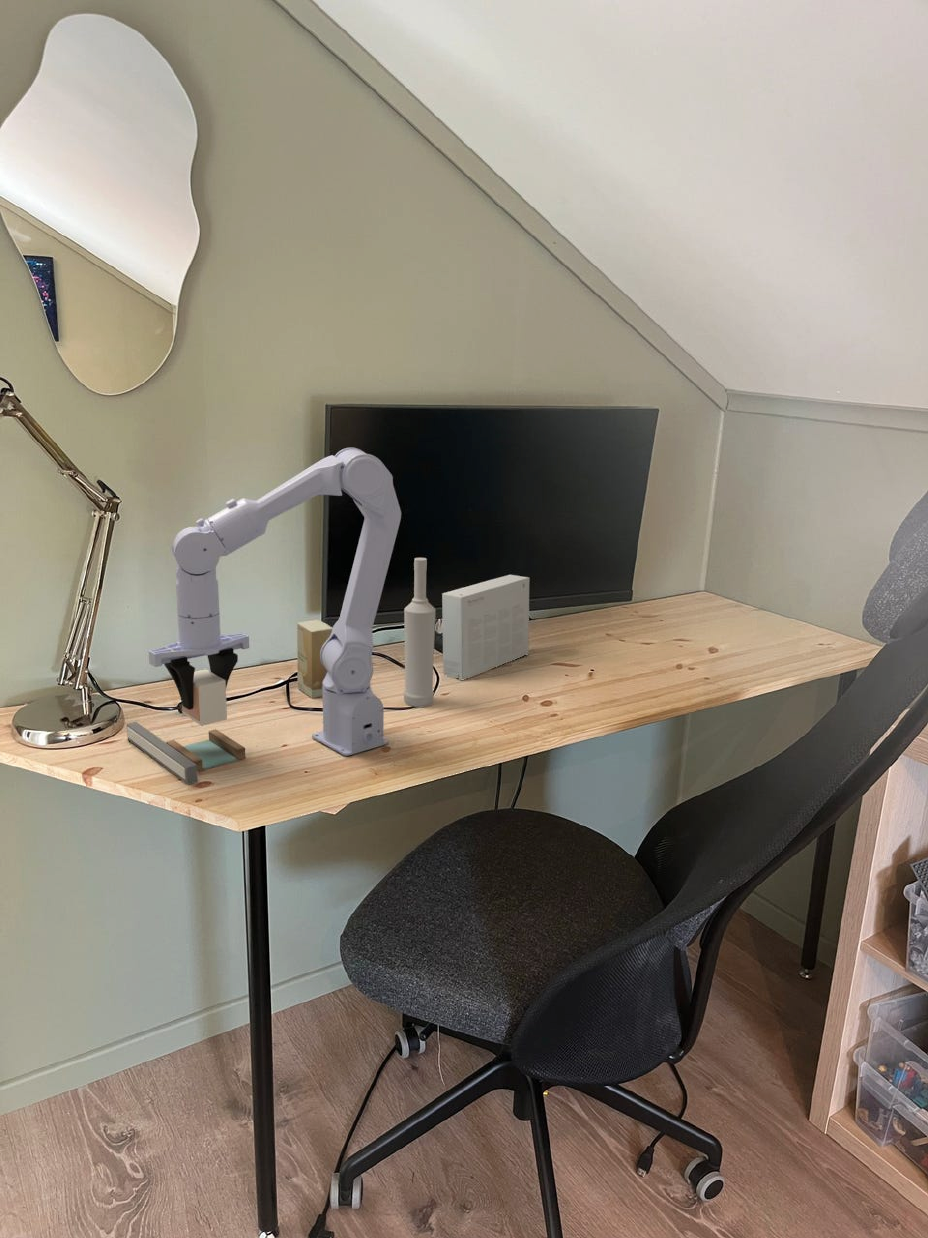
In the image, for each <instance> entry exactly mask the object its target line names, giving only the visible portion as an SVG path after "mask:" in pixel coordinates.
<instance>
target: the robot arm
mask: <svg viewBox="0 0 928 1238" xmlns="http://www.w3.org/2000/svg"><path fill="white" fill-rule="evenodd" d="M393 479H394V477H393V475H392V473H391V472H390V471H389V469H388V468H387V467H386V466H385V464H384V463H383V462H382V461H381V460H380V459H379V458H378V457H376V456H375V455H372V454H370V453H366V452H365V451H363V450H361V449H360V448H356V447H346V448H343V449H341V450H339V451H338V452H337V453H336V454H335V455H333V454H331V455H329V456H326V457H323V458H322V459H320V460H319V461H317V462H314V464H312V465H311V466H309V467H308V468H306V469H304V470H303V471H301V472H299V473H298V474H296V475H294V476H292V478H290V479H288V480H286V481H285V482H283V483H282V484H280V485H278V486H277V487H276V488H274V489H272V490H271V491H269V492H268V493H267V494H265V495H263V496H262V497H260V498H258V499H257V500H253V499H249V498H244V497H242V498H241V499H238V501H236V500H235V499H234V498H231V499H229V500H228V501H226V502H225V504H226V506H227V507H225V508H223V509H222V510H220V511H218V512H217V513H214V514H213V515H211V516H210V517H207V518H206V519H203V517H201V518H199V519H198V520H196V524H197V526H189V527H185V528H183V529H181V530H180V531H179V532H178V533H177V534H176V536H175V538H174V539H173V543H172V545H171V551H172V554H173V556H174V558H175V560H176V562H177V563H176V569H175V576H176V579H177V580H176V582H175V591H176V609H177V610H176V611H177V623H178V641H176V642H174V643H170V644H168V645H164V646H161V647H158V648H154V649H149V650H148V660H149V661H148V663H149V664H150V665H151V666H153V667H154V668H157V667H162V666H163V665H164V667H165V668H166V669H167V671H168V673H169V674H170V676H171V678H172V680H173V682H174V684H175V686H176V689H177V691H178V693H179V697H180V700H181V706H182V705H183V707H185V708H187V709H188V710H190V709H193V704H194V698H193V678H194V672H195V671H196V667H195V666H193V665H191V662H190V661H188V660H189V659H195V658H200V657H204V656H207V660H208V664H209V671H210V672H212V673H213V674H215V675H217V676H219V677H221V678H222V679H224V680H225V681H226V688H227V687H228V683H229V680H230V678H231V675H232V672H233V670H234V668H235V667H236V665H237V664H238V661H239V655H238V654H237V653H235V652H234V651H235V650H239V649H241V650H247V649H250V636H249V635H248V634H245V633H243V632H240V633H231V634H223V635H222V634H221V620H220V618H221V616H220V597H219V596H220V595H219V581H218V579H217V569H216V567H217V565H218V563H219V562H220V558H221V557H227V556H228V555H230V554H232V553H234V552H235V551H237V550H239V549H241V548H242V547H244V546H246V545H248V544H249V543H251V542H252V541H255V540H257V539H258V538H259V537H261V536H263V535H264V534H265V533H266V530H267V527H268V524H269V521H271V520H272V519H274V518H277V517H279V516H281V515H282V514H283V513H286V512H288V511H290V510H291V509H293V508H295V507H298V506H300V505H301V504H303V503H304V502H307V501H309V500H311V499H313V498H315V497H316V496H318V495H320V496H321V495H322V496H336V497H338V496H339V497H341V496H343V492H344V493H346V494H347V495H348V496H349V497H350V498H352V500H353V502H354V504H355V505H356V507H357V508H358V509H359V511H360V512H361V514H362V516H363V517H364V520H363V524H362V528H361V532H360V536H359V538H358V544H357V547H356V552H355V555H354V560H353V564H352V568H351V572H350V575H349V579H348V584H347V587H346V591H345V594H344V599H343V603H342V606H341V607H342V608H341V611H340V616H339V618H338V620H337V621H336V622H335V623H334V625H333V626H332V628H333V629H332V632H331V635H330V637H329V638H328V640H327V641H326V642H325V643H324V644H323V646H322V648H321V652H320V660H321V663H322V665H323V666H324V667H325V669H326V670H327V674H326V676H325V678H324V680H323V682H322V685H323V696H322V731H319V732H316V733H312V734H311V738H313V739H314V740H316V741H318V742H319V743H322V744H323V745H325V746H327V747H329V748H330V749H332V750H334V751H335V752H338V753H339V754H340V755H343V756H345V757H347V756H348V757H349V756H351V755H355V754H358V753H361V752H364V751H368V750H371V749H374V748H379V747H381V746H385V745H388V743H389V740H388V739H387V738H384V733H385V732H384V727H385V726H384V723H385V722H384V719H385V717H384V713H385V712H384V704H383V703H382V701H381V699H380V698H379V697H378V696H377V695H375V694H374V692H373V690H372V686H371V680H372V678H373V674H374V665H373V661H372V659H373V657H372V655H373V651H374V638H373V627H374V622H375V619H376V616H377V612H378V609H379V608H378V607H379V604H380V601H381V597H382V593H383V589H384V584H385V581H386V576H387V574H388V569H389V566H390V561H391V558H392V554H393V551H394V546H395V544H396V543H395V542H396V538H397V535H398V531H399V527H400V523H401V519H402V510H401V507H400V504H399V500H398V497H397V493H396V489H395V487H394V481H393ZM342 491H343V492H342Z"/></svg>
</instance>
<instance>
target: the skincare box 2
mask: <svg viewBox="0 0 928 1238" xmlns="http://www.w3.org/2000/svg"><path fill="white" fill-rule="evenodd" d="M441 595H442V596H441V598H442V599H441V603H442V605H441V606H442V608H441V610H442V611H441V612H442V616H441V617H442V675H443V674H444V675H443V676H445V675H447V676H446V677H448V676H450V677H449V678H452V677H453V678H452V679H456V678H460V679H465V678H468V679H470V678H469V677H471V678H472V676H473V677H476V676H478V675H480V673H481V674H483V673H482V672H484V673H486V672H488V671H487V670H489V669H491V670H493V669H492V668H494V667H496V666H499V665H501V666H503V665H502V664H504V663H506V664H508V663H507V662H509V661H511V660H514V659H517V658H519V657H521V656H524V655H526V654H528V653H529V654H530V650H529V649H530V646H529V645H530V644H529V643H530V641H529V640H530V637H529V635H530V634H529V633H530V629H529V628H530V627H529V626H530V577H528V576H520V575H516V574H508V575H504V576H500V577H496V578H492V579H489V580H486V581H481V582H479V583H476V584H472V585H471V584H470V585H469V586H465V587H460V588H457V589H454V590H451V591H447V592H443V593H441ZM524 657H525V656H524ZM519 659H520V658H519ZM517 660H518V659H517ZM514 661H515V660H514ZM511 662H512V661H511ZM509 663H510V662H509ZM504 665H505V664H504ZM499 667H500V666H499ZM496 668H497V667H496ZM494 669H495V668H494ZM485 671H486V672H485ZM489 671H490V670H489ZM477 674H478V675H477ZM475 675H476V676H475Z"/></svg>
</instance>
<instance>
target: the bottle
mask: <svg viewBox="0 0 928 1238" xmlns="http://www.w3.org/2000/svg"><path fill="white" fill-rule="evenodd" d="M427 560H428V559H427V558H426V557H415V558H414V562H413V567H414V568H413V570H414V577H413V578H414V582H413V584H414V585H413V586H414V587H413V591H414V592H413V595H414V596H413V598H412V599H411V602H410V603H408V605H407V606H405V608H404V610H403V611H404V613H403V614H404V674H405V675H404V680H405V681H404V682H405V684H404V686H405V688H404V689H405V690H404V691H403V701H404V703H405V705H406V706H407V705H408V706H410V707H413V708H415V707H416V708H423V707H428V706H430V705H432V704H433V703H434V702H433V701H434V699H435V698H434V697H435V692H434V690H433V689H434V688H433V685H434V662H435V661H434V658H435V656H434V654H435V636H436V635H435V632H436V631H435V629H436V608H435V607H434V606H433V605H432V604H431V603H430V602H429V599H428V598H427V565H428V561H427Z"/></svg>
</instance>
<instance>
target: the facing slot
mask: <svg viewBox="0 0 928 1238" xmlns="http://www.w3.org/2000/svg"><path fill="white" fill-rule="evenodd" d="M165 743H167V744H168V745H170V746H171V747H172V748H174V749H175V750H177V751H178V752H179V753H181V754H182V755H184V756H185V757H186V758H188V759H189V760H191V761H192V762H194V763H195V764H196V765H197V773H198V772H200V771H204V770H208V769H212V768H214V767H218V766H222V765H225V764H229V763H233V762H236V761H239V760H243V759H246V747H245V746H244V745H241V744H240V743H238V742H237V741H236V740H234V739H232V738H230V737H229V736H227V735H226V734H224V733H222V732H221V731H219V730H218V729H215V728H214V729H211V730H209V731H208V739H207V740H202V741H199V742H196V743H192V744H187V745H184V746H183V744H180V743H179V742H177V741H176V740H175V739H173V740H169V741H166V742H165Z"/></svg>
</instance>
